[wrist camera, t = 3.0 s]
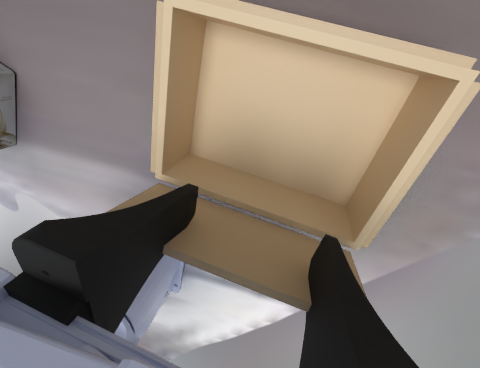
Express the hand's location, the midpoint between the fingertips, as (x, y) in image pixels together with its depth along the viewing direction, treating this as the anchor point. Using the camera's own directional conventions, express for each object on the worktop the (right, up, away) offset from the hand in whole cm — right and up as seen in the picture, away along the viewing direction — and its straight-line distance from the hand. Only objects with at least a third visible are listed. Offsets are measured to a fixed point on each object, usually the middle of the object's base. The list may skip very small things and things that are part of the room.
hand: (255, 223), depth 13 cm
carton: (+3, +7, +5) cm, 9 cm away
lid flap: (-1, -1, +1) cm, 2 cm away
